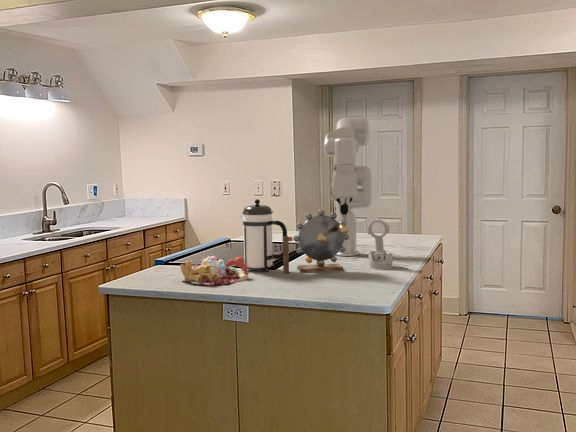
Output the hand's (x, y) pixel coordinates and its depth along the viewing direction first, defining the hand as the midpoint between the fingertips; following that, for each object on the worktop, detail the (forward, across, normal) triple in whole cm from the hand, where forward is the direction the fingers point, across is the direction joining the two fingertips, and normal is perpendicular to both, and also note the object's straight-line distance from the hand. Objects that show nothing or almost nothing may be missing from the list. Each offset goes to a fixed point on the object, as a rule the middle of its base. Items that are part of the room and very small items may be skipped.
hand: (344, 214), depth 241 cm
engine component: (+24, +18, +9) cm, 32 cm away
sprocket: (+22, -8, +2) cm, 23 cm away
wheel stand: (+24, -11, +9) cm, 28 cm away
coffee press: (+24, -32, +16) cm, 43 cm away
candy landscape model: (+25, -53, +2) cm, 58 cm away
